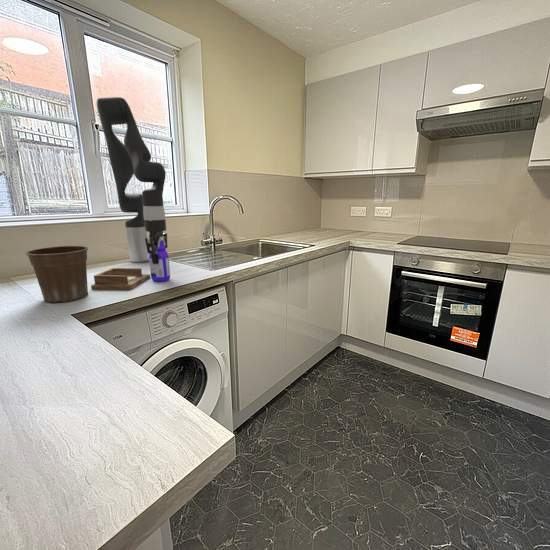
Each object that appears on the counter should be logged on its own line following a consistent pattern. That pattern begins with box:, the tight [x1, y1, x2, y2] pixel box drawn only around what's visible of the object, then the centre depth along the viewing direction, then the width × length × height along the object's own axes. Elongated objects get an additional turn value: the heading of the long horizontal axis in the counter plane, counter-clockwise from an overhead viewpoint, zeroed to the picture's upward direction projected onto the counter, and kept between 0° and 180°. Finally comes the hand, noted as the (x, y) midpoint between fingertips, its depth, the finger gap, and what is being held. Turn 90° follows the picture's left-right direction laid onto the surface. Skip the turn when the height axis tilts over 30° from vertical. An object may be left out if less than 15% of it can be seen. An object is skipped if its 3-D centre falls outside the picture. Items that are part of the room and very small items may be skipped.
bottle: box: [148, 237, 171, 283], centre depth 116 cm, size 7×6×17 cm
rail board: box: [90, 267, 151, 291], centre depth 113 cm, size 16×14×4 cm
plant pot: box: [25, 245, 89, 304], centre depth 97 cm, size 16×16×16 cm
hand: (159, 261), depth 116 cm, fingers closed on bottle, 6 cm apart
